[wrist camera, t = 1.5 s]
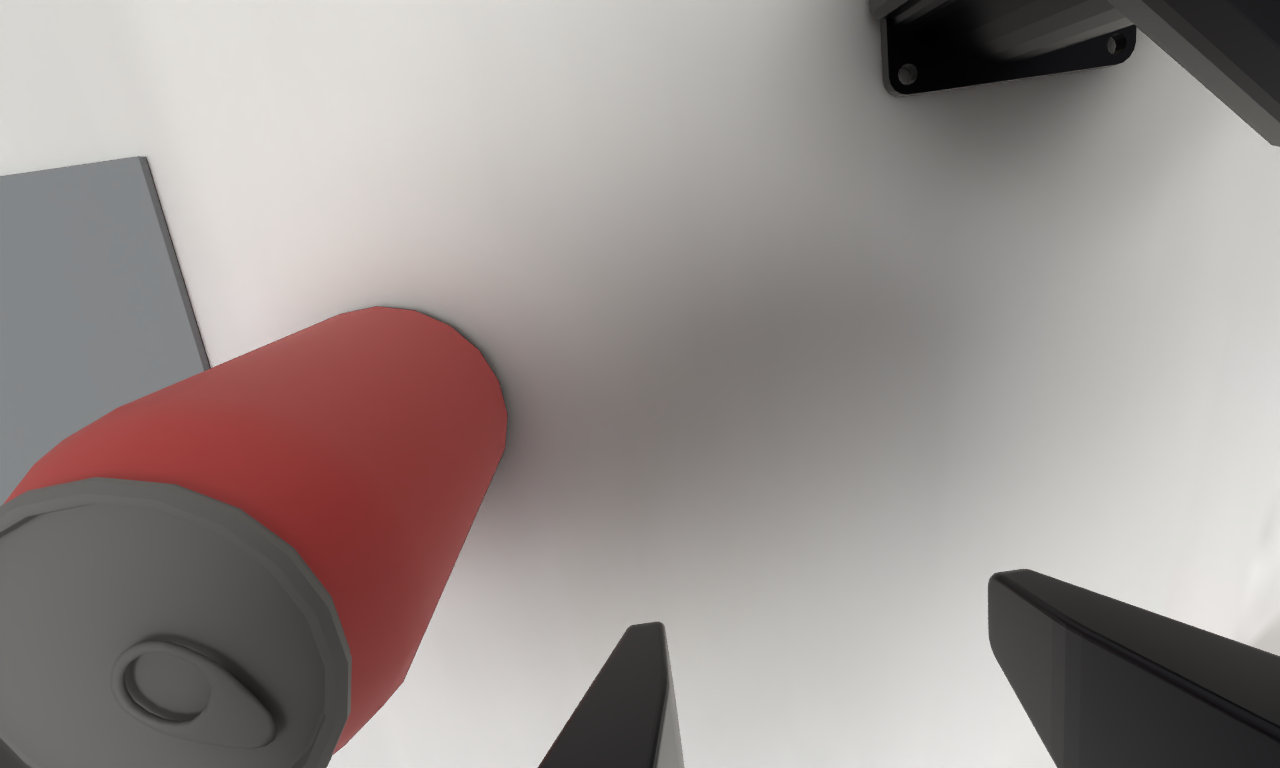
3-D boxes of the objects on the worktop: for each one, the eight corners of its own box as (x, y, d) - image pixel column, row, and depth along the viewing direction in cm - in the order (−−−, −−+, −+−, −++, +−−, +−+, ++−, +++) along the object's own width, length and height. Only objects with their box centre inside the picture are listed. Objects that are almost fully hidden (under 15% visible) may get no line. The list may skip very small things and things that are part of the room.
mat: (145, 157, 19) (138, 156, 19) (302, 669, 23) (298, 675, 23) (-299, 221, 19) (-314, 221, 19) (-64, 722, 23) (-73, 728, 23)
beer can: (441, 553, 22) (250, 944, 11) (246, 444, 21) (-209, 748, 9) (553, 382, 21) (477, 613, 9) (352, 257, 20) (-20, 340, 8)
